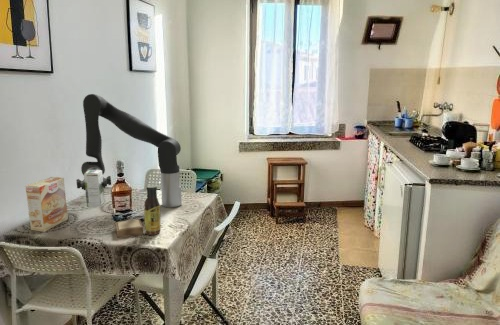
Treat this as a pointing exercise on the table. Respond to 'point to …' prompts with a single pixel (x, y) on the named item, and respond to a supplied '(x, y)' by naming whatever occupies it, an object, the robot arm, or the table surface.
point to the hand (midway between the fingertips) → (94, 186)
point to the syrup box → (94, 188)
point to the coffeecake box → (46, 203)
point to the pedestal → (129, 228)
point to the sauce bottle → (152, 211)
